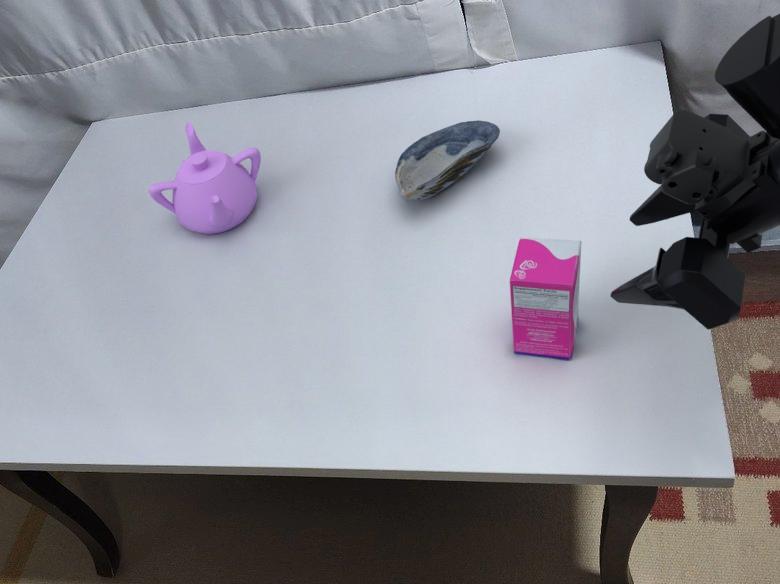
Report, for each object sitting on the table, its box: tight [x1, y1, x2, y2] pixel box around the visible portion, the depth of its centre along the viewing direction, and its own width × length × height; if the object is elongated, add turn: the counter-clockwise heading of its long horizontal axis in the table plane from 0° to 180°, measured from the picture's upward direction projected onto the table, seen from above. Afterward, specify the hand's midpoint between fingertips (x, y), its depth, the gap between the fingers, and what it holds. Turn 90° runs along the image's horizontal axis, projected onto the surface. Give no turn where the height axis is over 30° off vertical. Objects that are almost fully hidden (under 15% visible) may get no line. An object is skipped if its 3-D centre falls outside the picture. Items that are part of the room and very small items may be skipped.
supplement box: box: [509, 236, 582, 361], centre depth 73 cm, size 6×6×12 cm
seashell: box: [394, 120, 501, 203], centre depth 94 cm, size 15×12×5 cm
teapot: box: [148, 122, 262, 235], centre depth 99 cm, size 12×14×9 cm
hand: (623, 258), depth 66 cm, fingers open, 9 cm apart
